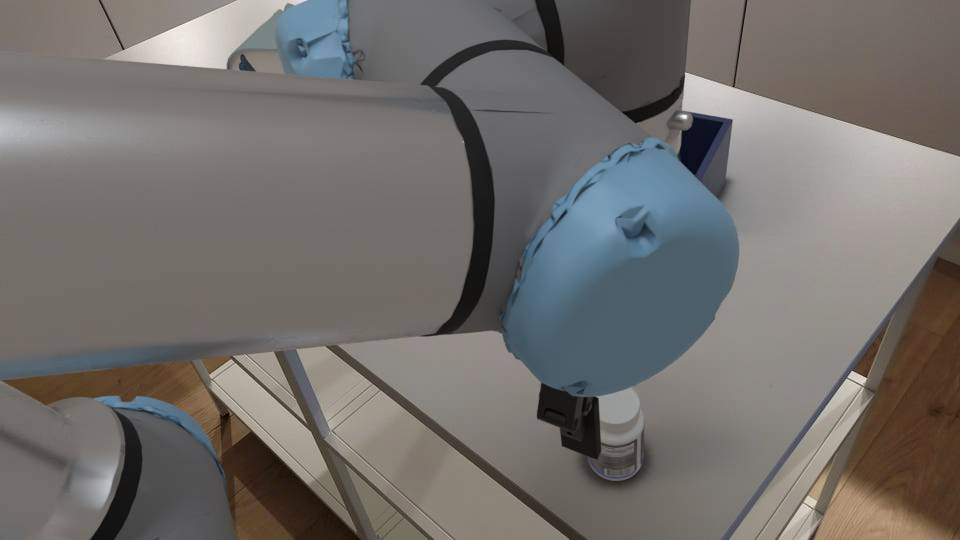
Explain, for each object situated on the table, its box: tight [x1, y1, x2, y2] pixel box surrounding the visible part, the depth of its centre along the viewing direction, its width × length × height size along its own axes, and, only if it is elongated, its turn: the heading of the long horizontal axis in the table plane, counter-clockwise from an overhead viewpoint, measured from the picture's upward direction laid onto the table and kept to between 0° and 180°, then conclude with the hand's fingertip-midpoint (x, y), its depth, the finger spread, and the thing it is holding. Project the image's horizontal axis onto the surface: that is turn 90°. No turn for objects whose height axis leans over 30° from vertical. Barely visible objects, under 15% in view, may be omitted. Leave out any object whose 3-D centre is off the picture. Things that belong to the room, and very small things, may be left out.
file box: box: [679, 110, 734, 199], centre depth 86 cm, size 15×12×9 cm
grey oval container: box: [226, 2, 295, 74], centre depth 110 cm, size 22×19×13 cm
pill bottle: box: [587, 387, 646, 482], centre depth 63 cm, size 5×5×8 cm
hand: (617, 377), depth 58 cm, fingers open, 13 cm apart
